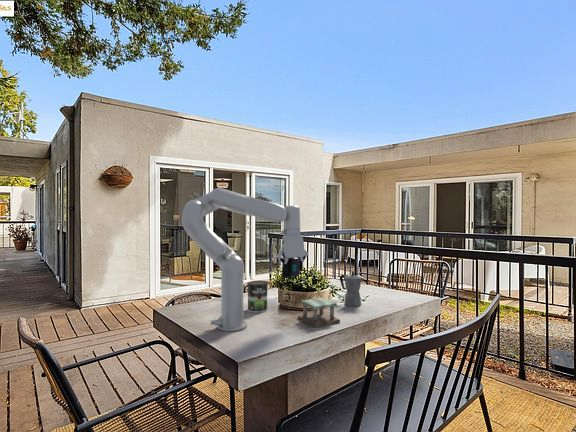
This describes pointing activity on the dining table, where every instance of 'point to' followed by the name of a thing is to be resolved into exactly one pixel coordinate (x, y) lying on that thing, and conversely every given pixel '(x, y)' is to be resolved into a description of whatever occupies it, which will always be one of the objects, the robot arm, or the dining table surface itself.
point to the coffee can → (257, 296)
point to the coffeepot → (352, 289)
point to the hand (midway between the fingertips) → (293, 271)
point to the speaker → (291, 268)
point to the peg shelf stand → (321, 317)
